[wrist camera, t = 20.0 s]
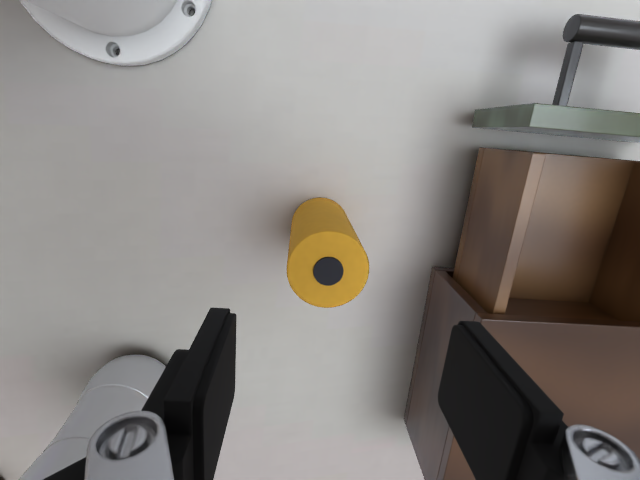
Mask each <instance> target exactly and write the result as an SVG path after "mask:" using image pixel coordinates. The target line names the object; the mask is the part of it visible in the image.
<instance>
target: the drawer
mask: <svg viewBox="0 0 640 480" xmlns="http://www.w3.org/2000/svg"><path fill="white" fill-rule="evenodd" d="M563 39H564V41H566V42H570V43H568V45H567V49H566V53H565V57H564V61H563V65H562V69H561V73H560V77H559V80H558V84H557V88H556V92H555V96H554V100H553V104H552V105H549V104H538V103H532V104H523V105H514V106H505V107H496V108H487V109H478V110H475V114H474V119H473V124H472V127H473V128H483V129H494V130H505V131H516V132H527V133H538V134H549V135H560V136H571V137H582V138H593V139H604V140H615V141H626V142H637V143H640V113H631V112H621V111H610V110H600V109H590V108H580V107H569V106H567V103H568V99H569V96H570V92H571V88H572V84H573V81H574V77H575V73H576V69H577V66H578V62H579V58H580V54H581V50H582V47H583V44H591V45H600V46H609V47H618V48H627V49H636V50H640V21H633V20H624V19H616V18H607V17H599V16H590V15H582V14H576V15H574V16H572V17H571V18H570V19H569V21H568V22H567V24H566V26H565V28H564V31H563ZM453 279H454V280H455V281H456V282H457V283H458V284H459V285H460V286H461V287H462V288H463V289H464V290H465V291H466V292H467V293H468V294H469V295H470V296H471V297H472V298H473V299H474V300H475V301H476V302H477V303H478V304H479V305H480V306H481V307H482V308H483V309H484V310H485V311H486V312H487V314H505V315H523V316H542V317H561V318H579V319H598V320H617V321H635V322H640V161H631V160H620V159H608V158H597V157H585V156H574V155H562V154H551V153H539V152H528V151H516V150H505V149H494V148H482V147H480V148H479V152H478V156H477V161H476V166H475V171H474V176H473V181H472V186H471V190H470V195H469V200H468V205H467V210H466V215H465V220H464V224H463V229H462V234H461V239H460V244H459V249H458V254H457V258H456V263H455V268H454V273H453Z"/></svg>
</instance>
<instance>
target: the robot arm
mask: <svg viewBox="0 0 640 480" xmlns="http://www.w3.org/2000/svg"><path fill="white" fill-rule="evenodd" d="M211 1H212V0H20V2H21V4H22V5H23V6H24V7H25V9H26V10H27V11H28V12H29V14H30V15H31V16H32V17H33V19H34V20H35V21H36V22H37V23H38V24H39V25H40V26H41V27H42V28H43V29H44V30H45V31H47V32H48V33H49V34H50V35H51V36H52V37H53V38H55V39H56V40H58V41H59V42H61V43H62V44H64V45H65V46H67V47H68V48H70V49H71V50H73V51H75V52H78V53H80V54H82V55H84V56H86V57H89V58H91V59H94V60H98V61H101V62H104V63H108V64H115V65H121V66H135V65H145V64H149V63H153V62H156V61H160V60H162V59H164V58H166V57H168V56H170V55H172V54H173V53H175V52H177V51H178V50H179V49H180V48H182V47H183V46H184V45H185V44H186V43H187V42H189V41H190V40H191V38H192V37H193V36H194V34H195V33H196V32H197V30H198V29H199V28H200V26H201V25H202V23H203V21H204V19H205V17H206V15H207V12H208V10H209V8H210V5H211ZM191 9H195V14H194V15H193V16H189V11H190V10H191ZM118 48H120V54H119V55H117V53H116V51H117V49H118ZM235 359H236V314H232V313H230V309H226V308H210V310H209V312H208V314H207V316H206V318H205V320H204V322H203V324H202V326H201V328H200V330H199V332H198V334H197V336H196V337H195V339H194V341H193V343H192V345H191V347H190V349H189V350H181V349H178V350H176V351H175V352H174V354H173V355H172V357H171V359H170V361H169V362H168V364H167V366H166V368H165V369H164V371H163V373H162V375H161V376H160V378H159V380H158V382H157V383H156V385H155V387H154V389H153V390H152V392H151V394H150V396H149V397H148V399H147V401H146V403H145V404H144V406H143V408H142V410H141V411H133V412H127V413H124V414H121V415H118V416H116V417H114V418H112V419H110V420H109V421H107V422H105V423H104V424H103V425H102V426H100V427H99V428H98V429H97V430H96V431H95V432H94V434H93V435H92V437H91V438H90V440H89V443H88V446H87V453H86V457H85V458H83V459H81V460H79V461H77V462H75V463H73V464H71V465H69V466H68V467H66V468H64V469H62V470H60V471H58V472H56V473H54V474H52V475H50V476H48V477H47V478H45V479H43V480H213V478H214V474H215V470H216V466H217V462H218V458H219V454H220V450H221V446H222V442H223V438H224V434H225V430H226V426H227V422H228V419H229V415H230V411H231V407H232V403H233V399H234V392H235ZM438 404H439V407H440V409H441V411H442V413H443V415H444V417H445V419H446V421H447V423H448V425H449V427H450V429H451V431H452V433H453V435H454V437H455V439H456V441H457V443H458V445H459V447H460V449H461V451H462V453H463V455H464V457H465V459H466V461H467V463H468V465H469V467H470V469H471V471H472V473H473V475H474V477H475V479H476V480H640V460H639V458H638V457H637V456H636V454H635V453H634V452H633V451H632V450H631V449H630V448H629V447H628V446H627V445H625V444H624V443H623V442H621V441H620V440H618V439H617V438H616V437H614V436H612V435H610V434H608V433H606V432H605V431H602V430H600V429H597V428H595V427H591V426H587V425H572V426H569V427H568V426H567V425H566V424H565V423H564V422H563V421H562V418H563V416H564V413H563V412H562V411H561V410H560V409H559V408H558V407H557V406H556V405H555V403H554V402H553V401H552V400H551V399H550V398H549V397H548V396H547V395H546V394H545V393H544V392H543V390H542V389H541V388H540V387H539V386H538V385H537V384H536V383H535V382H534V381H533V380H532V378H531V377H530V376H529V375H528V374H527V373H526V372H525V371H524V370H523V369H522V368H521V367H520V365H519V364H518V363H517V362H516V361H515V360H514V359H513V358H512V357H511V356H510V355H509V353H508V352H507V351H506V350H505V349H504V348H503V347H502V346H501V345H500V344H499V343H498V342H497V340H496V339H495V338H494V337H493V336H492V335H491V334H490V333H489V332H488V331H487V330H486V329H485V327H484V326H483V325H482V324H481V323H480V322H477V321H459V322H458V324H457V325H454V326H453V327H452V330H451V335H450V340H449V344H448V349H447V353H446V358H445V363H444V367H443V372H442V377H441V381H440V386H439V391H438Z"/></svg>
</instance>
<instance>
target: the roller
mask: <svg viewBox="0 0 640 480" xmlns="http://www.w3.org/2000/svg"><path fill="white" fill-rule="evenodd" d="M368 274H369V262H368V257H367V255H366V252H365V250H364V248H363V247H362V245H361V243H360V241H359V239H358V237H357V235H356V233H355V231H354V229H353V227H352V225H351V223H350V221H349V219H348V218H347V216H346V214H345V212H344V210H343V209H342V207H341V206H340V205H339V204H337V203H336V202H334V201H333V200H330V199H327V198H313V199H310V200H307V201H306V202H304V203H303V204H301V205H300V206H299V207H298V208H297V210H296V211H295V213H294V215H293V218H292V224H291V233H290V243H289V252H288V261H287V277H288V281H289V284H290V286H291V288H292V289H293V291H294V292H295V293H296V295H297V296H299V297H300V298H301V299H302V300H304V301H305V302H307V303H309V304H311V305H314V306H318V307H324V308H329V307H336V306H340V305H343V304H345V303H347V302H349V301H351V300H352V299H354V298H355V297H356V296H357V295H358V294H359V293H360V292H361V290H362V289H363V288H364V286H365V284H366V282H367V279H368Z"/></svg>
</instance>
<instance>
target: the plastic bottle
mask: <svg viewBox="0 0 640 480" xmlns="http://www.w3.org/2000/svg"><path fill="white" fill-rule="evenodd" d="M165 368H166V366H165V365H164V364H163V363H161V362H160V361H158V360H156V359H154V358H152V357H149V356H146V355H127V356H122V357H118V358H116V359H113V360H112V361H110V362H108V363H107V364H106V365H105V366H103V367H102V368H101V369H100V370H98V371H97V372H96V373H95V374H94V375H93V376H92V377H91V379H90V381H89V382H88V384H87V386H86V387H85V389H84V391H83V392H82V394H81V396H80V398H79V400H78V402H77V405H76V407H75V408H74V410H73V411H72V413H71V414H70V416H69V417H68V419H67V420H66V422H65V423H64V425H63V426H62V428H61V429H60V431H59V432H58V434H57V435H56V437H55V438H54V439H53V441H52V442H51V443H50V444H49V445H48V446H47V447H46V449H45V450H44V451H43V453H42V454H41V455H40V456H39V457H38V458H37V459H36V460H35V461H34V462H33V464H32V465H31V466H30V467H29V468H28V469H27V471H26V472H25V473H24V474H23V475H22V476H21V477H20V479H19V480H43V479H45V478H47V477H48V476H50V475H52V474H54V473H56V472H58V471H60V470H62V469H64V468H66V467H68V466H69V465H71V464H73V463H75V462H77V461H79V460H81V459H83V458H85V457H86V453H87V446H88V443H89V440H90V438H91V437H92V435H93V434H94V432H95V431H96V430H97V429H98V428H99V427H100V426H102V425H103V424H104V423H105V422H107V421H109V420H110V419H112V418H114V417H116V416H118V415H121V414H124V413H127V412H133V411H141V410H142V408H143V406H144V404H145V403H146V401H147V399H148V397H149V396H150V394H151V392H152V390H153V389H154V387H155V385H156V383H157V382H158V380H159V378H160V376H161V375H162V373H163V371H164V369H165Z"/></svg>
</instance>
